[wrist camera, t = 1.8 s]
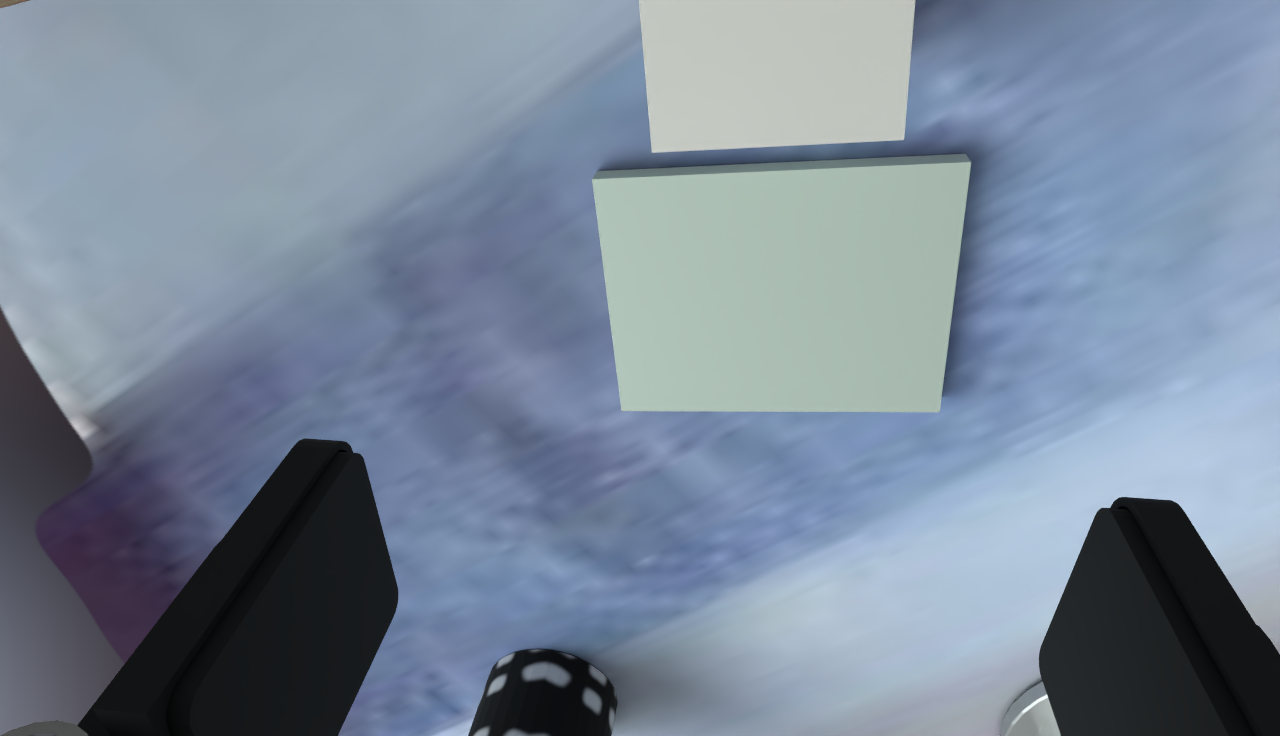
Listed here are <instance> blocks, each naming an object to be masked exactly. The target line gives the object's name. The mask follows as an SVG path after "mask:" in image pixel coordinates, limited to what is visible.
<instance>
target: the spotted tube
mask: <svg viewBox="0 0 1280 736" xmlns="http://www.w3.org/2000/svg"><path fill="white" fill-rule="evenodd" d="M616 707H617V695H616V693H615V690H614V688H613V686H612V684H611V683H610V682H609V680H608V679H607V678H606V677H605V676H604V675H603V674H602V673H601V672H600V671H599V670H598V669H596V668H595V667H593V666H592V665H591V664H589V663H587V662H585V661H583V660H581V659H579V658H577V657H574V656H571V655H568V654H566V653H561V652H557V651H552V650H541V649H536V650H524V651H519V652H515V653H512V654H510V655H507V656H505V657H504V658H502V659H501V660H499V661H498V662H497V663H496V664H495V665H494V667H493V668H492V670H491V672H490V675H489V678H488V680H487V683H486V686H485V689H484V692H483V695H482V698H481V700H480V703H479V706H478V709H477V712H476V715H475V718H474V721H473V723H472V726H471V729H470V732H469V735H468V736H611V735H612V729H613V724H614V718H615V713H616Z"/></svg>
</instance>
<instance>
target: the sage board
mask: <svg viewBox="0 0 1280 736" xmlns="http://www.w3.org/2000/svg"><path fill="white" fill-rule="evenodd" d="M970 168H971V161H970V159H969V158H968V156H967V155H966V154H947V155H926V156H905V157H884V158H863V159H842V160H821V161H800V162H778V163H757V164H736V165H715V166H694V167H673V168H652V169H631V170H609V171H597V172H596V174H595V175H594V177H593V179H592V181H593V189H594V197H595V205H596V213H597V221H598V229H599V236H600V244H601V252H602V260H603V268H604V276H605V284H606V292H607V300H608V307H609V315H610V323H611V331H612V339H613V347H614V355H615V363H616V371H617V378H618V386H619V394H620V402H621V410H622V411H755V412H940V405H941V397H942V389H943V381H944V373H945V365H946V357H947V350H948V342H949V334H950V326H951V318H952V310H953V302H954V294H955V286H956V279H957V271H958V263H959V255H960V247H961V239H962V231H963V223H964V215H965V208H966V200H967V192H968V184H969V176H970Z"/></svg>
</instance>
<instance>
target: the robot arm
mask: <svg viewBox="0 0 1280 736" xmlns="http://www.w3.org/2000/svg"><path fill="white" fill-rule="evenodd" d="M397 603H398V587H397V583H396V579H395V575H394V572H393V568H392V564H391V560H390V556H389V553H388V549H387V545H386V541H385V537H384V534H383V530H382V526H381V522H380V518H379V515H378V511H377V507H376V503H375V500H374V496H373V492H372V488H371V484H370V481H369V477H368V473H367V469H366V465H365V462H364V459H363V457H362V456H361V455H360V454H358V453H353V451H352V448H351V446H350V445H349V444H348V443H347V442H344V441H332V440H318V439H302V440H300V441H298V442H297V443H296V444H295V445H294V447H293V448H292V449H291V450H290V452H289V453H288V454H287V456H286V457H285V458H284V460H283V461H282V462H281V464H280V465H279V466H278V467H277V469H276V470H275V471H274V473H273V474H272V475H271V477H270V478H269V479H268V480H267V482H266V483H265V484H264V486H263V487H262V488H261V490H260V491H259V492H258V493H257V495H256V496H255V497H254V499H253V500H252V501H251V503H250V504H249V505H248V506H247V508H246V509H245V510H244V512H243V513H242V514H241V516H240V517H239V518H238V519H237V521H236V522H235V523H234V525H233V526H232V527H231V529H230V530H229V531H228V533H227V534H226V535H225V536H224V538H223V539H222V540H221V541H220V542H219V543H218V544H217V545H216V546H215V548H214V549H213V550H212V551H211V553H210V554H209V555H208V557H207V558H206V559H205V561H204V562H203V563H202V564H201V566H200V567H199V568H198V570H197V571H196V572H195V574H194V575H193V576H192V577H191V579H190V580H189V581H188V583H187V584H186V585H185V586H184V588H183V589H182V590H181V592H180V593H179V594H178V596H177V597H176V598H175V599H174V601H173V602H172V603H171V605H170V606H169V607H168V609H167V610H166V611H165V612H164V614H163V615H162V616H161V618H160V619H159V620H158V622H157V623H156V624H155V625H154V627H153V628H152V629H151V631H150V632H149V633H148V635H147V636H146V637H145V638H144V640H143V641H142V642H141V644H140V645H139V646H138V648H137V649H136V650H135V651H134V653H133V654H132V655H131V657H130V658H129V659H128V661H127V662H126V663H125V664H124V666H123V667H122V668H121V670H120V671H119V672H118V674H117V675H116V676H115V678H114V679H113V680H112V681H111V683H110V684H109V685H108V687H107V688H106V689H105V690H104V692H103V693H102V694H101V696H100V697H99V698H98V699H97V701H96V702H95V703H94V705H93V706H92V707H91V709H90V710H89V711H88V712H87V714H86V715H85V716H84V718H83V719H82V720H81V722H80V723H79V724H78V725H75V724H72V723H67V722H63V721H58V720H56V721H45V722H35V723H32V724H29V725H26V726H23V727H20V728H17V729H14V730H11V731H8V732H7V733H5V734H3V735H1V736H338V734H339V732H340V729H341V727H342V725H343V723H344V721H345V719H346V717H347V715H348V712H349V710H350V708H351V706H352V704H353V702H354V700H355V698H356V695H357V693H358V691H359V689H360V687H361V685H362V683H363V681H364V678H365V676H366V674H367V672H368V670H369V668H370V666H371V664H372V661H373V659H374V657H375V655H376V653H377V651H378V649H379V647H380V644H381V642H382V640H383V638H384V636H385V634H386V632H387V630H388V627H389V625H390V623H391V621H392V619H393V617H394V614H395V612H396V608H397ZM1039 668H1040V674H1041V678H1042V682H1040V683H1039V684H1037V685H1036V686H1034V687H1032V688H1031V689H1029V690H1028V691H1026V692H1025V693H1024V694H1023V695H1022V696H1021V697H1020V698H1019V699H1018V700H1016V701H1015V702H1014V703H1013V704H1012V706H1011V707H1010V709H1009V710H1008V712H1007V713H1006V715H1005V716H1004V719H1003V722H1002V725H1001V728H1000V736H1280V654H1279V653H1278V651H1277V650H1276V648H1275V647H1274V645H1273V643H1272V642H1271V640H1270V639H1269V638H1268V636H1267V635H1266V634H1265V633H1264V632H1263V630H1262V629H1261V628H1260V627H1259V626H1258V625H1256V624H1255V622H1254V621H1253V619H1252V618H1251V616H1250V614H1249V613H1248V611H1247V610H1246V608H1245V606H1244V605H1243V603H1242V602H1241V600H1240V599H1239V597H1238V595H1237V594H1236V592H1235V591H1234V589H1233V588H1232V586H1231V584H1230V583H1229V581H1228V580H1227V578H1226V577H1225V575H1224V573H1223V572H1222V570H1221V569H1220V567H1219V566H1218V564H1217V562H1216V561H1215V559H1214V558H1213V556H1212V555H1211V553H1210V551H1209V550H1208V548H1207V547H1206V545H1205V544H1204V542H1203V540H1202V539H1201V537H1200V536H1199V534H1198V533H1197V531H1196V529H1195V528H1194V526H1193V525H1192V523H1191V521H1190V520H1189V518H1188V517H1187V515H1186V514H1185V512H1184V510H1183V509H1182V508H1181V507H1180V506H1179V505H1178V504H1177V503H1175V502H1173V501H1171V500H1157V499H1143V498H1129V497H1121V498H1118V499H1117V500H1115V501H1114V502H1113V504H1112V506H1111V508H1101V509H1100V510H1099V511H1098V512H1097V514H1096V515H1095V518H1094V520H1093V522H1092V525H1091V527H1090V530H1089V532H1088V534H1087V537H1086V539H1085V542H1084V544H1083V546H1082V549H1081V551H1080V554H1079V556H1078V559H1077V561H1076V563H1075V566H1074V568H1073V571H1072V573H1071V575H1070V578H1069V580H1068V583H1067V585H1066V587H1065V590H1064V592H1063V595H1062V597H1061V599H1060V602H1059V604H1058V607H1057V609H1056V612H1055V614H1054V616H1053V619H1052V621H1051V624H1050V626H1049V628H1048V631H1047V633H1046V636H1045V638H1044V640H1043V643H1042V645H1041V649H1040V654H1039Z"/></svg>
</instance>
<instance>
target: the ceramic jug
mask: <svg viewBox="0 0 1280 736" xmlns="http://www.w3.org/2000/svg"><path fill="white" fill-rule="evenodd" d="M25 1H29V0H0V8H2V7H7V6H11V5H14V4H18V3H22V2H25Z"/></svg>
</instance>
